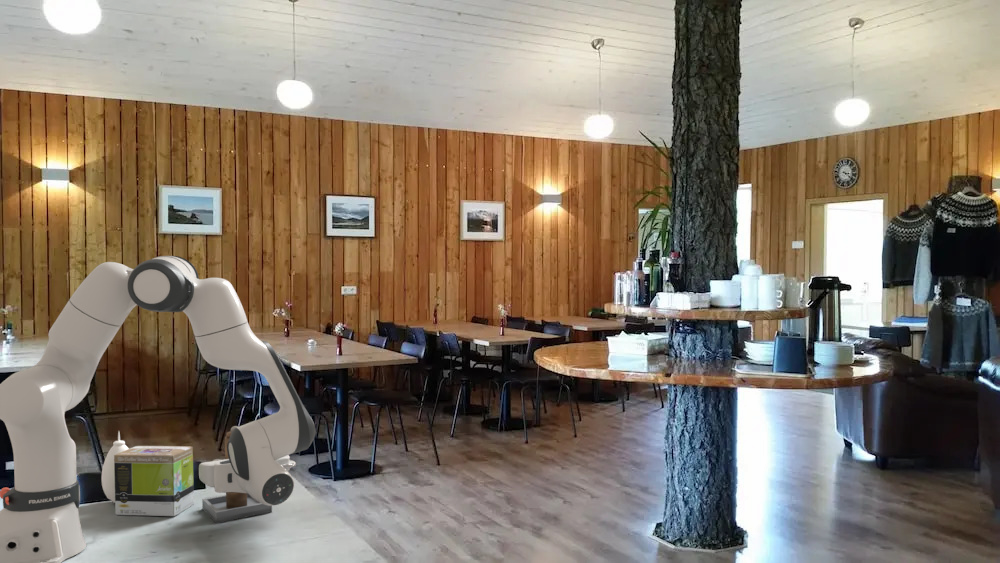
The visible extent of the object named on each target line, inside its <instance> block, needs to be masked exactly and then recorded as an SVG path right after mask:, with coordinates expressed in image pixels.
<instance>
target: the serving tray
mask: <svg viewBox="0 0 1000 563" xmlns="http://www.w3.org/2000/svg"><path fill="white" fill-rule="evenodd" d="M202 510H203V511H204V512H205V513H206V514H207V515H208V516H209V517H210V518H211V519H212V520H213V521H214V522H215V523H216V524H217V523H222V522H228V521H233V520H237V519H238V518H239V519H243V518H247V517H253V516H258V515H265V514H270V513H272V512H273V506H268V505H264V504H262V503H260V502H258V501H256V500H255V499H253V498H252V497H251V496H250V495H249V494H247V506H243V507H237V508H232V509H227V508H226V494H224V495H217V496H212V497H207V498H202ZM239 519H238V520H239Z"/></svg>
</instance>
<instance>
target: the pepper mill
mask: <svg viewBox="0 0 1000 563" xmlns="http://www.w3.org/2000/svg"><path fill="white" fill-rule="evenodd" d="M237 427H239V426H238V425H233V426H232V427H231V428H230V431H227V432H226V433H225V434H226V436H225V437H224V459H229V457H228V452H227V444H228V441H229V438H230V435H231V433H232V432H233V430H234V429H235V428H237ZM225 495H226V508H227V509H232V508H237V507H243V506H247V493H239V492H226V493H225Z"/></svg>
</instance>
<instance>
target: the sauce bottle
mask: <svg viewBox="0 0 1000 563" xmlns="http://www.w3.org/2000/svg"><path fill="white" fill-rule="evenodd" d="M117 432H118V433H117V440H115V441H113V443H112V444H113V445H112V446H111V447H110V449H109V450H108V452H107V454H106V457H105V459H104V461H103V462H104V463H103V466H102V469H101V486H102V490H103V493H104V495H105V497H106V498H107V499H108V500H111V502H113V503H115V475H114V455H116V454H118V453H121V452H123V451H125V450H128V449H130V447H128V446H127V445H126V441H125V440H121V434H120V430H118V431H117Z"/></svg>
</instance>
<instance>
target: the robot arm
mask: <svg viewBox="0 0 1000 563" xmlns="http://www.w3.org/2000/svg"><path fill="white" fill-rule="evenodd" d="M136 306H138V307H140V308H141V309H143V310H147V311H150V312H156V313H181V312H183V313H184V314H185V315H186V316H187V318H188V320H189V323H190V324H191V328H192V332H193V334H194V338H195V343H196V344H197V347H198V349H199V353H200V355H201V357H202V358H203V360H205V361H206V362H207V363H208V364H209V365H210V366H213V367H215V368H218V369H221V370H230V371H231V370H232V371H253V372H257V373H259V374H260V375H262V376H263V377H264V379H265V380H266V381H267V383H268V386H269V387H270V389H271V391H272V393H273V395H274V397H275V399H276V401H277V403H278V405H279V410H278V411H277V412H275V413H272V414H270V415H267V416H265V417H262V418H259V419H257V420H256V419H255V420H253V421H250V422H248V423H244V424H243V425H240V426H238V427H237V428H235V429H234V430H233V432H232V433H231V435H230V438H229V441H228V444H227V452H228V457H229V459H225V458H224V459H221V458H215V459H213V460H212V461H205V462H201V463H199V465H198V476H199V477H198V478H199V480H200V481H201V482H202V483H203V484H205V485H206V486H207V487H210V488H214V492H216V493H218V494H220V493H225V494H226V492H239V493H247V494H249V495H250V496H251V497H252V498H253V499H255V500H256V501H258V502H260V503H262V504H264V505H268V506H272V507H273V506H274V507H275V506H279V505H281V504H283V503H284V502H286V501H287V500H288V499H289V498H290V497H291V495H292V494H293V491H294V488H295V480H294V478H293V476H292V475H291V473H290V472H289V471H290V469H292V468H293V467H296V466H297V463H296V462H295V461H294V460H291V459H290V458H291V456H290V455H291V454H292V455H293V454H296V453H297V454H298V453H300V452H302V451H303V452H304V451H306V450H308V449H309V447H310V446H311V445H312V443H313V441H314V439H315V437H316V434H317V429H316V427H315V423H314V421H313V419H312V417H311V416H310V414H309V412H308V410H307V409H306V407H305V405H304V404H303V402H302V400H301V398H300V396H299V395H298V393H297V390H296V388H295V387H294V385H293V382H292V380H291V377H290V376H289V375H288V373H287V370H286V369H285V366H284V364H283V362H282V361H281V359H280V357H279V355H278V354H277V352H276V350H275V349H274V347H273V346H272V345H271V344H270V343H269V342H268V341H267V340H261V339H260V338H258V336H256V334H255V333H254V332H253V330H252V329H251V326H250V324H249V322H248V317H247V315H246V311H245V310H244V307H243V305H242V302H241V300H240V297H239V296H238V293H237V292H236V290H235V288H234V286H233V285H232V283H231V282H230V281H229V280H228V279H226V278H222V277H208V278H203V279H200V278H199V274H198V271H197V268H196V266H194V264H193V263H191V261H190V260H187V259H186V258H184V257H182V256H179V255H159V256H156V257H154V258H153V257H152V258H151V259H147V260H144V261H143V262H142V261H141V262H140V263H139V264H138V265H136V266H135V267H134V268H131V267H129V266H127V265H125V264H122V263H119V262H114V261H106V262H103V263H100V264H98V265H97V266H96V267H95V268H93V270H92V271H91V272H90V273H89V274H88V275H87V276H86V277H85V278H84V279H83V281H82V282H81V283H80V284H79V285H78V287H77V288H76V290H75V291H74V292H73V293H72V295H71V297H70V298H69V299H68V301H67V302H66V304H65V306H64V307H63V309H62V310H61V312H60V314H59V315H58V316H57V318H55V319H56V320H55V321H54V323H53V324H52V326H51V328H49V331H48V341H47V345H46V347H45V349H44V353H43V355H42V356H41V358H40V359H39V361H38V362H37V363H36V364H34V366H32V367H30V368H26V369H21V370H20V371H16V372H14V373H12V374H10V375H9V376H8V377H7V378H5V380H3V381H2V382H1V383H0V421H3V423H4V425H5V427H6V430H7V432H8V436H9V440H10V443H11V448H12V453H13V470H14V471H13V472H14V475H13V476H14V487H12V488H11V489H10V488H9V487H7V486H6V487H3V488H1V490H0V498H1V499H2V506H3V508H2V509H0V563H62V562H64V561H65V560H67V559H69V558H71V557H73V556H75V555H78V554H80V553H81V552H83V551H84V550H85V549H86V548H87V544H88V543H87V542H86V539H85V537H84V534H83V529H82V526H81V519H80V512H79V507H80V503H81V491H80V490H81V489H80V488H81V486H80V481H79V480H78V478H77V446H76V442H75V441H74V440H73V438H72V437H71V436H70V433H69V430H68V427H67V423H66V418H65V414H66V412H67V411H69V410H71V409H74V408H75V407H77V405H79V403H81V402H82V401H83V399H84V398H85V397H86V396H87V394H88V393H89V391H90V387H91V382H92V379H93V377H94V375H95V373H96V370H97V368H98V365H99V362H100V361H101V359H102V357H103V355H104V353H105V351H106V350H107V348H108V347H109V345H110V344H111V342H112V341H113V340H114V338H115V336H116V334H117V333H118V332H119V330H120V328H122V325H124V324H123V323H124V322H125V321H126V319H127V318H128V316H129V315H130V313H131V311H133V309H134V308H135V307H136Z"/></svg>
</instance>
